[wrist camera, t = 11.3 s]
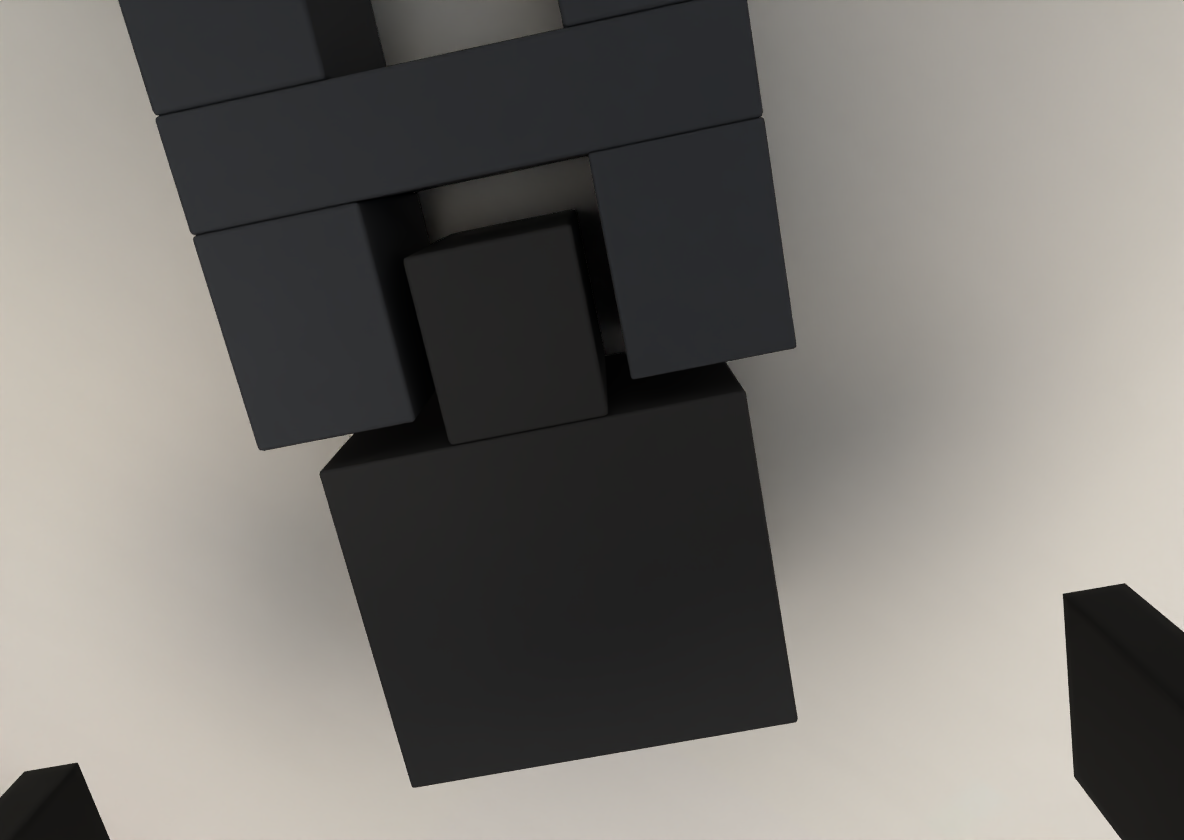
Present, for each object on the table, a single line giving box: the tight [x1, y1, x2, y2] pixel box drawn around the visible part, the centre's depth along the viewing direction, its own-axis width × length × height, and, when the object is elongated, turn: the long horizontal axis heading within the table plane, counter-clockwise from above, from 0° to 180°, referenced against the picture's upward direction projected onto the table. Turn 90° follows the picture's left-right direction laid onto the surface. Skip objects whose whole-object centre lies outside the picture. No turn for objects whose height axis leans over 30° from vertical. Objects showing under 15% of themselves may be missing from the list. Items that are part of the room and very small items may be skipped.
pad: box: [320, 209, 798, 788], centre depth 20 cm, size 8×10×6 cm
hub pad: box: [118, 0, 796, 451], centre depth 18 cm, size 10×10×6 cm
